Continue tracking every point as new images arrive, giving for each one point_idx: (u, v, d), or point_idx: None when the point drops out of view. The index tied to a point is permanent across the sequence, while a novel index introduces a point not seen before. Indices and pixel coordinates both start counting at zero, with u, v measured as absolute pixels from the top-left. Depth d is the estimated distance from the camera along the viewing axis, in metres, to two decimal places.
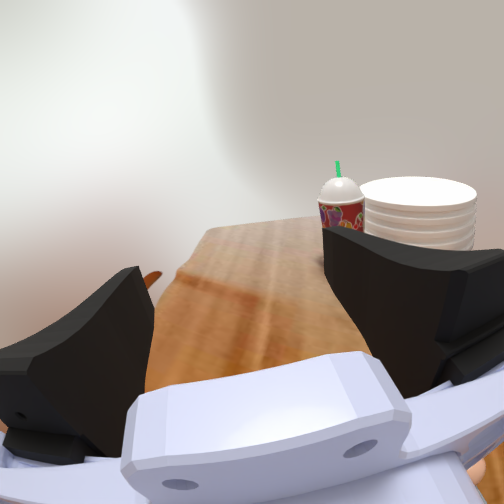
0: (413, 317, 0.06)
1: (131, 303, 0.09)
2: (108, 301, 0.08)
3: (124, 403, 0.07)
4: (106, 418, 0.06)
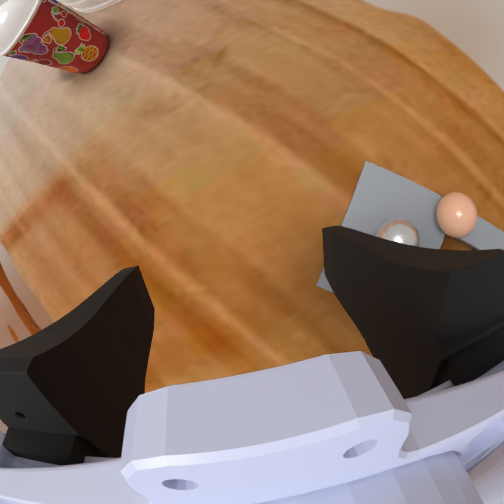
0: (413, 317, 0.06)
1: (131, 303, 0.09)
2: (108, 301, 0.08)
3: (124, 403, 0.07)
4: (106, 418, 0.06)
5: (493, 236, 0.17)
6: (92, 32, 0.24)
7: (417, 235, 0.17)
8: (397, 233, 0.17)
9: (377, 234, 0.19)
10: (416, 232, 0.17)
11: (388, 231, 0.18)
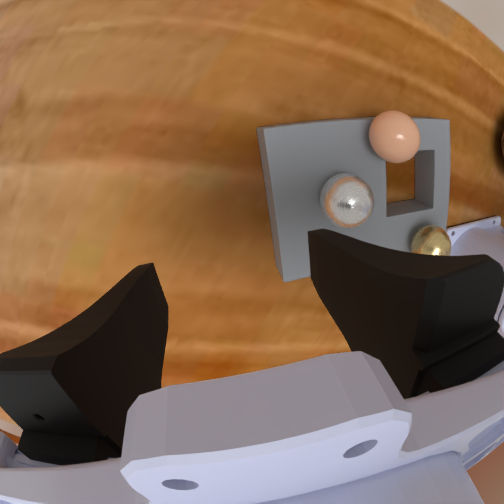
0: (391, 325, 0.06)
1: (147, 300, 0.09)
2: (126, 298, 0.08)
3: None
4: None
5: (431, 129, 0.17)
6: None
7: (368, 187, 0.15)
8: (349, 201, 0.15)
9: (324, 209, 0.16)
10: (365, 184, 0.15)
11: (337, 203, 0.15)
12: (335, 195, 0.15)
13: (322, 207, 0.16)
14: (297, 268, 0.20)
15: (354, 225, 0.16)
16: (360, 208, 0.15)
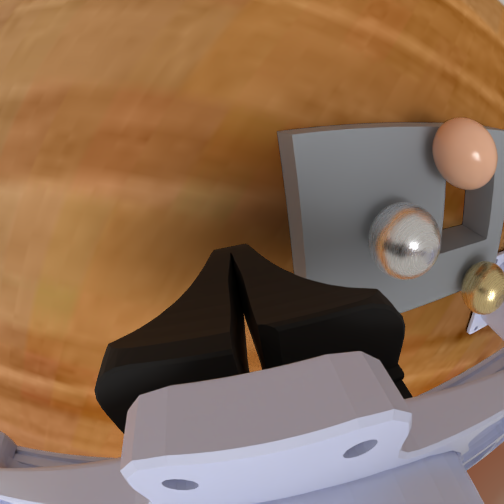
0: (262, 361, 0.06)
1: (234, 283, 0.09)
2: (228, 279, 0.08)
3: None
4: None
5: None
6: None
7: (436, 225, 0.10)
8: (415, 248, 0.10)
9: (377, 255, 0.11)
10: (433, 221, 0.10)
11: (399, 249, 0.10)
12: (396, 238, 0.10)
13: (373, 252, 0.11)
14: None
15: (415, 277, 0.11)
16: (428, 257, 0.10)
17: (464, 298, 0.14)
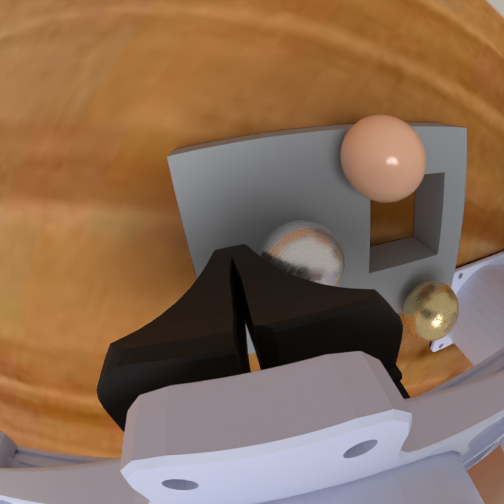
0: (259, 361, 0.06)
1: (236, 283, 0.09)
2: (230, 279, 0.08)
3: None
4: None
5: (441, 142, 0.11)
6: None
7: (334, 246, 0.10)
8: (299, 276, 0.09)
9: None
10: (329, 243, 0.10)
11: None
12: (276, 264, 0.10)
13: None
14: None
15: None
16: None
17: (404, 322, 0.14)
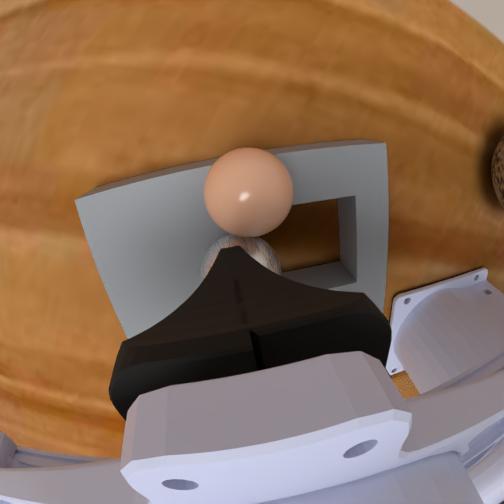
0: None
1: None
2: (238, 276, 0.08)
3: None
4: None
5: (349, 163, 0.12)
6: None
7: None
8: (274, 253, 0.11)
9: None
10: None
11: (271, 262, 0.11)
12: (263, 256, 0.11)
13: None
14: None
15: None
16: None
17: None
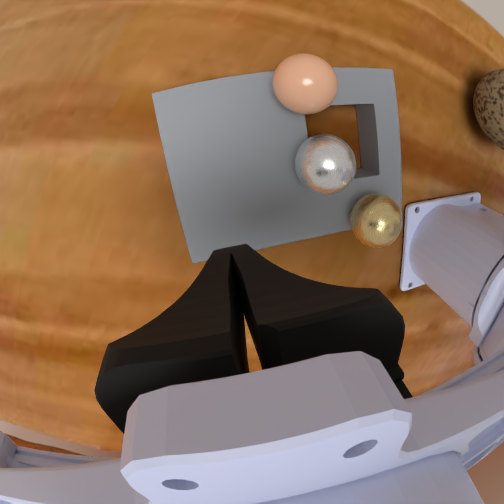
0: (262, 361, 0.06)
1: (234, 283, 0.09)
2: (228, 279, 0.08)
3: None
4: None
5: (368, 80, 0.14)
6: None
7: None
8: None
9: None
10: None
11: None
12: None
13: None
14: (205, 247, 0.17)
15: None
16: None
17: (352, 230, 0.17)
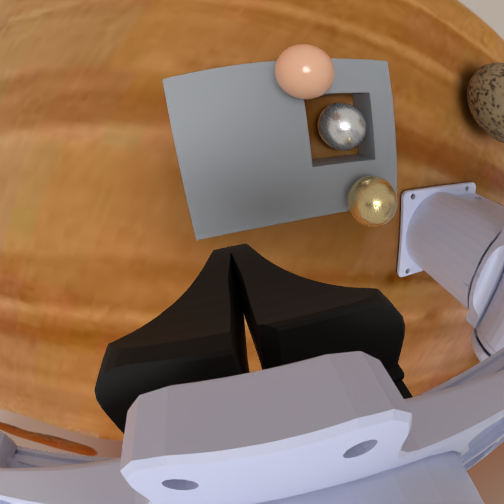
0: (261, 361, 0.06)
1: (234, 283, 0.09)
2: (228, 279, 0.08)
3: None
4: None
5: (363, 70, 0.15)
6: None
7: None
8: None
9: (352, 148, 0.18)
10: None
11: None
12: None
13: (355, 146, 0.18)
14: (209, 224, 0.18)
15: (328, 139, 0.17)
16: (322, 138, 0.18)
17: (349, 210, 0.18)
